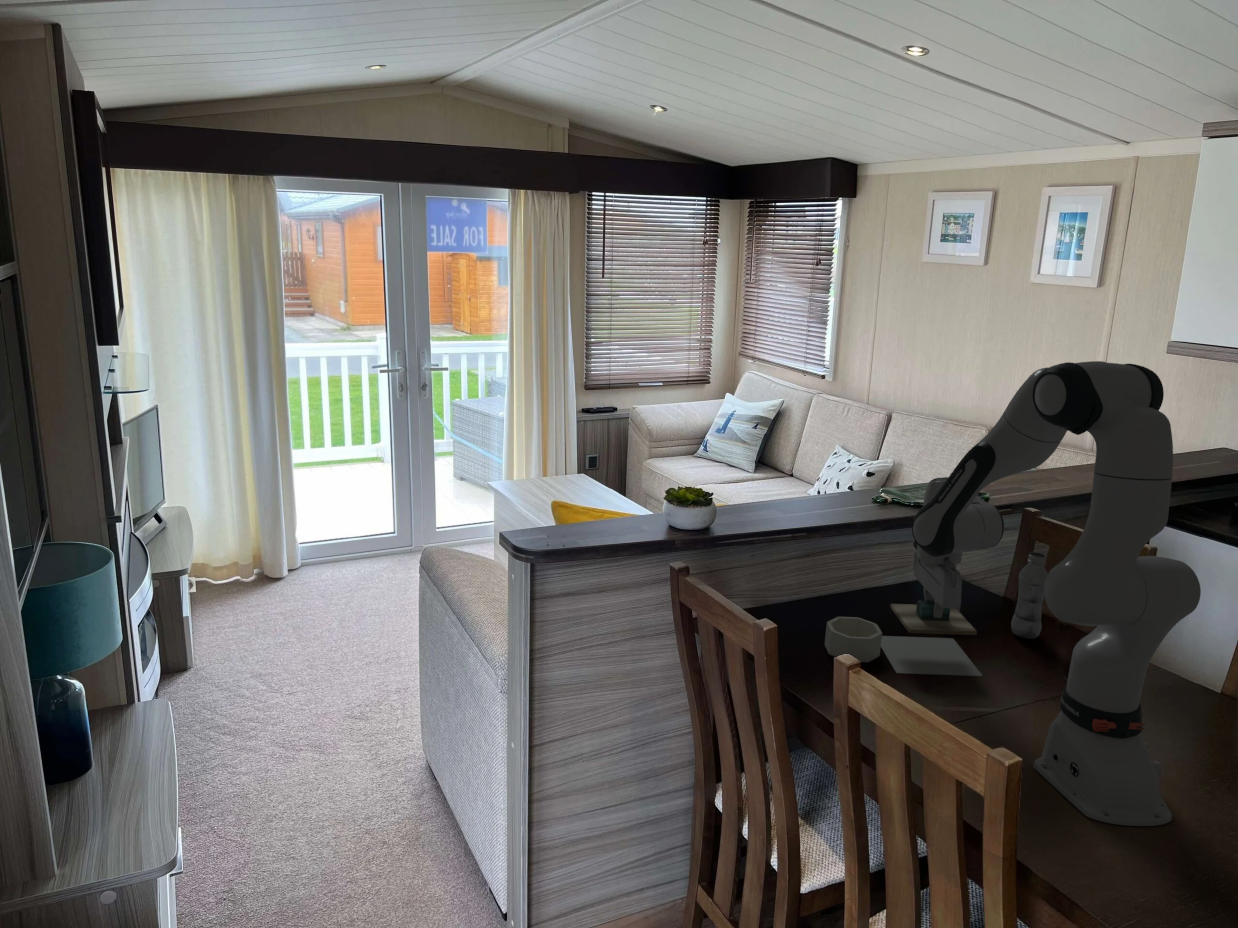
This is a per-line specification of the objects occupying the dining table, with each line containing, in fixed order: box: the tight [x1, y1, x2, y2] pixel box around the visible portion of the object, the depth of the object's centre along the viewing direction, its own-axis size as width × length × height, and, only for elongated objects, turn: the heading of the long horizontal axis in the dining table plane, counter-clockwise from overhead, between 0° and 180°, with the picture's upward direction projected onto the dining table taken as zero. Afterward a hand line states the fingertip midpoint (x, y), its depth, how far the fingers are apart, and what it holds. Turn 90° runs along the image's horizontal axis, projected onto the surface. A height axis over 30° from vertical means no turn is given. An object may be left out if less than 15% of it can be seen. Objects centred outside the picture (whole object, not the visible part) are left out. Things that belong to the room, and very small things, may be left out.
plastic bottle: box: [1010, 551, 1049, 640], centre depth 209 cm, size 6×7×20 cm
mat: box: [880, 635, 983, 677], centre depth 199 cm, size 18×18×1 cm
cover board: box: [890, 600, 978, 636], centre depth 196 cm, size 14×14×4 cm
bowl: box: [824, 616, 883, 663], centre depth 199 cm, size 11×11×6 cm
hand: (932, 612), depth 196 cm, fingers closed on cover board, 3 cm apart
